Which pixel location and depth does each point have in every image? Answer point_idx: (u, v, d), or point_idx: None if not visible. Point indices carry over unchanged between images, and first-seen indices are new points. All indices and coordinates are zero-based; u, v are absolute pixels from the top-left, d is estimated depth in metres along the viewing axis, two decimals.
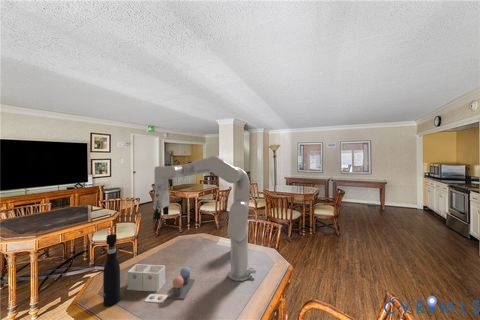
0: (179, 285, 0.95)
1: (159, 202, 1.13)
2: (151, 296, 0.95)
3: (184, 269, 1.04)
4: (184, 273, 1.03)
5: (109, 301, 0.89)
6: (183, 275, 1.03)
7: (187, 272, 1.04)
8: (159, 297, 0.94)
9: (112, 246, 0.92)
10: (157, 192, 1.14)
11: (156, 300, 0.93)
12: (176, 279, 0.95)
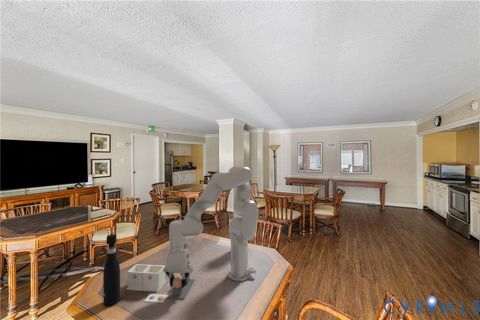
0: (179, 285, 0.95)
1: (189, 262, 0.98)
2: (151, 296, 0.95)
3: None
4: None
5: (109, 301, 0.89)
6: None
7: None
8: (159, 297, 0.94)
9: (112, 246, 0.92)
10: (187, 252, 0.96)
11: (156, 300, 0.93)
12: (176, 279, 0.95)
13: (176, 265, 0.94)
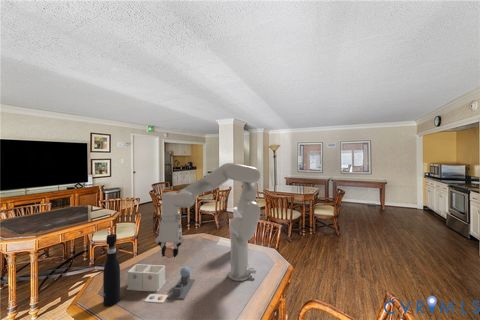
0: (171, 254, 0.97)
1: (181, 233, 1.00)
2: (151, 296, 0.95)
3: (184, 269, 1.04)
4: (184, 273, 1.03)
5: (109, 301, 0.89)
6: (183, 275, 1.03)
7: (187, 272, 1.04)
8: (159, 297, 0.94)
9: (112, 246, 0.92)
10: (179, 223, 0.98)
11: (156, 300, 0.93)
12: (168, 249, 0.97)
13: (168, 235, 0.96)
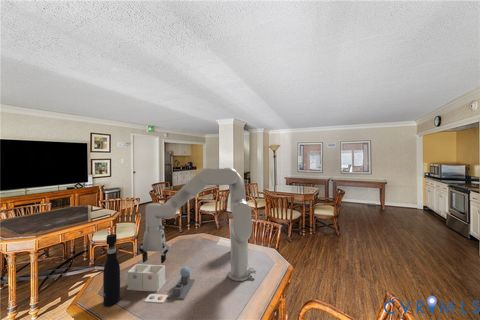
0: None
1: None
2: (151, 296, 0.95)
3: (184, 269, 1.04)
4: (184, 273, 1.03)
5: (109, 301, 0.89)
6: (183, 275, 1.03)
7: (187, 272, 1.04)
8: (159, 297, 0.94)
9: (112, 246, 0.92)
10: (162, 232, 1.03)
11: (156, 300, 0.93)
12: None
13: (152, 244, 1.02)
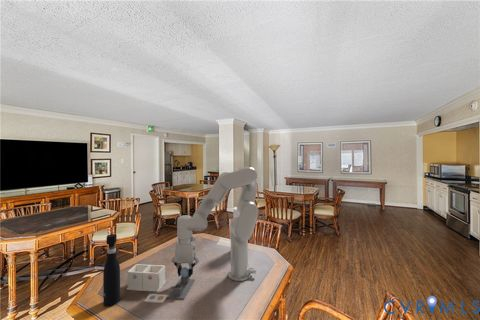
0: None
1: (195, 254, 1.07)
2: (151, 296, 0.95)
3: (184, 269, 1.04)
4: (184, 273, 1.03)
5: (109, 301, 0.89)
6: (183, 275, 1.03)
7: (187, 272, 1.04)
8: (159, 297, 0.94)
9: (112, 246, 0.92)
10: (193, 244, 1.05)
11: (156, 300, 0.93)
12: None
13: (183, 256, 1.03)
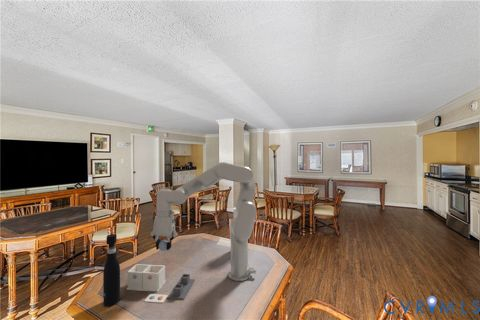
0: None
1: (174, 228, 1.06)
2: (151, 296, 0.95)
3: (162, 242, 1.04)
4: (162, 246, 1.03)
5: (109, 301, 0.89)
6: (161, 248, 1.03)
7: (165, 245, 1.03)
8: (159, 297, 0.94)
9: (112, 246, 0.92)
10: (172, 218, 1.05)
11: (156, 300, 0.93)
12: None
13: (162, 229, 1.03)
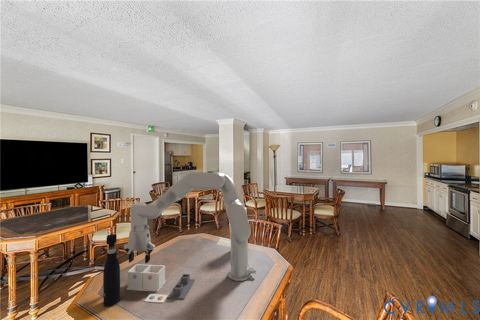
0: None
1: (150, 241, 1.06)
2: (151, 296, 0.95)
3: None
4: None
5: (109, 301, 0.89)
6: None
7: None
8: (159, 297, 0.94)
9: (112, 246, 0.92)
10: (147, 232, 1.04)
11: (156, 300, 0.93)
12: None
13: (137, 243, 1.02)
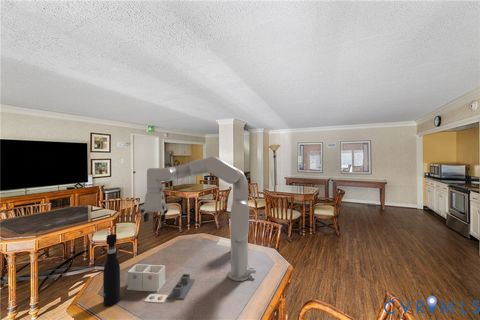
0: None
1: None
2: (151, 296, 0.95)
3: None
4: None
5: (109, 301, 0.89)
6: None
7: None
8: (159, 297, 0.94)
9: (112, 246, 0.92)
10: (162, 194, 1.12)
11: (156, 300, 0.93)
12: None
13: (152, 204, 1.10)
